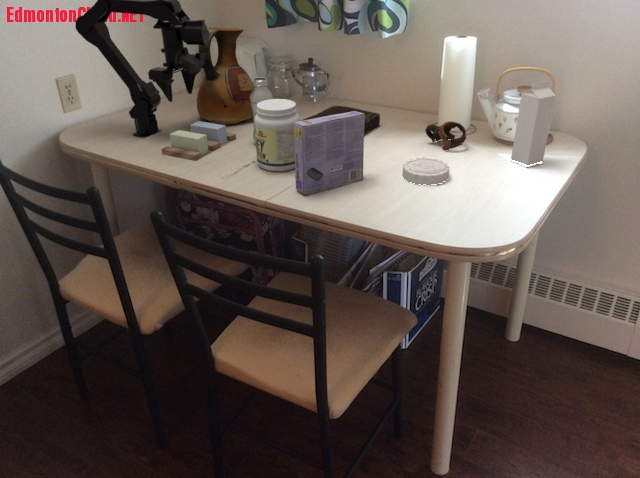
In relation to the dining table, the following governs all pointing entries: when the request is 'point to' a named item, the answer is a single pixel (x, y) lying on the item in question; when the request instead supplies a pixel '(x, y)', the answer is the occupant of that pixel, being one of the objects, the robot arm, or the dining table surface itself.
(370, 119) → the diary
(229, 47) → the ceramic pitcher
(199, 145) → the sage block
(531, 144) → the milk
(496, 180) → the dining table surface
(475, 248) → the dining table surface
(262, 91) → the plastic bottle
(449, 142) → the brown coiled piece
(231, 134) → the slot rack
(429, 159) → the mooncake
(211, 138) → the slate block
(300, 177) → the cake pan box
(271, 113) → the supplement tub
